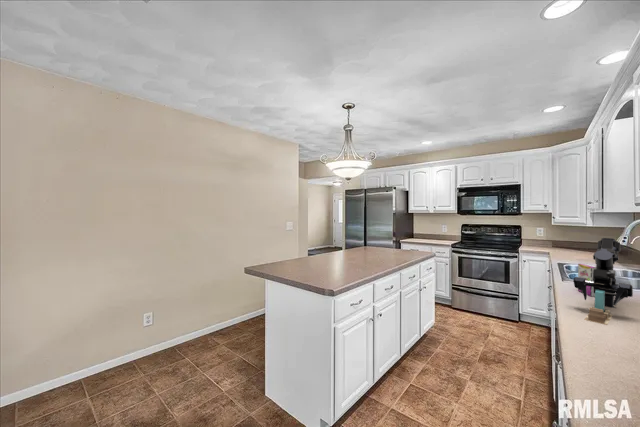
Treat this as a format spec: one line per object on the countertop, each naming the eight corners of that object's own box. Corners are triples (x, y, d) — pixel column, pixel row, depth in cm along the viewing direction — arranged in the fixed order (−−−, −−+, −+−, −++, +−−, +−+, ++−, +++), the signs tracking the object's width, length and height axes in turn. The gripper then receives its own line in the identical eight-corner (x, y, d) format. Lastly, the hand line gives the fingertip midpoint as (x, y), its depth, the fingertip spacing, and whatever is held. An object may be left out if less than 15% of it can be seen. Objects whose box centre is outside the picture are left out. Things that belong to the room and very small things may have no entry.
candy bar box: (577, 291, 168) (577, 263, 168) (587, 291, 167) (587, 263, 167) (590, 296, 157) (591, 267, 157) (601, 297, 156) (601, 267, 156)
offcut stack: (589, 316, 125) (589, 306, 125) (605, 320, 121) (605, 310, 121) (587, 319, 122) (587, 309, 121) (603, 323, 118) (604, 312, 118)
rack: (591, 312, 133) (591, 305, 133) (612, 317, 127) (612, 309, 127) (583, 322, 121) (584, 313, 121) (607, 327, 116) (607, 318, 116)
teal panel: (596, 313, 128) (596, 289, 128) (604, 315, 126) (604, 290, 126) (594, 316, 125) (595, 291, 125) (602, 318, 123) (603, 292, 123)
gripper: (574, 259, 135) (568, 286, 129) (632, 265, 121) (629, 296, 114) (577, 274, 141) (572, 300, 134) (633, 281, 126) (631, 312, 119)
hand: (599, 302), depth 125 cm, fingers open, 9 cm apart
